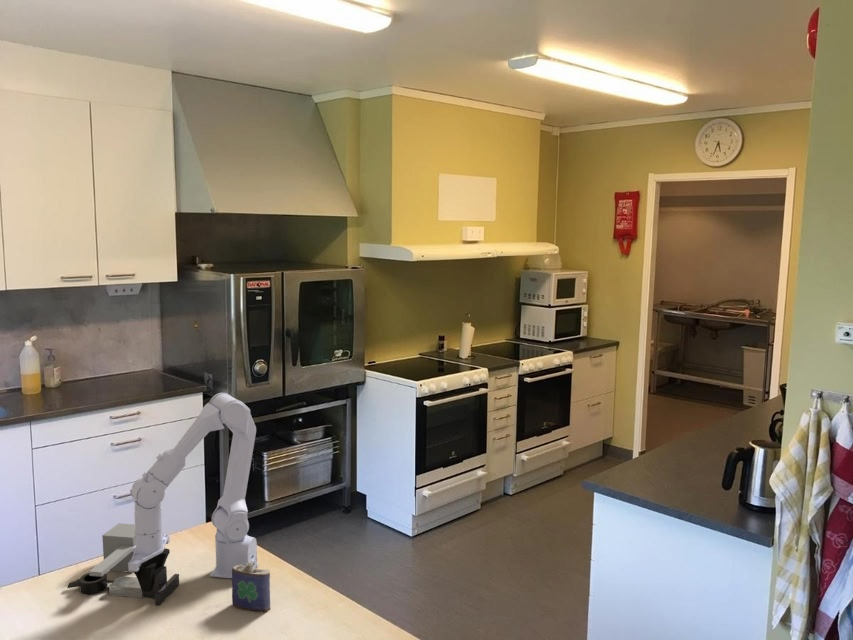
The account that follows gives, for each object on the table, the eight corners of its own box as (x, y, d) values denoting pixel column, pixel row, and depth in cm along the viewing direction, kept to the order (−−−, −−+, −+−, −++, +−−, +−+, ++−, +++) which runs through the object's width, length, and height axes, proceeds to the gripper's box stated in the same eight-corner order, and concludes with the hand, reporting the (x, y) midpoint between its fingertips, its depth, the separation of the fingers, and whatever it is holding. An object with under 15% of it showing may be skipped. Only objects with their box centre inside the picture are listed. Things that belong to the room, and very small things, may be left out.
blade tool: (179, 585, 163) (178, 561, 162) (159, 605, 154) (158, 580, 153) (126, 580, 164) (124, 557, 164) (103, 600, 156) (102, 575, 155)
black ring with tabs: (95, 601, 155) (95, 589, 155) (64, 592, 159) (63, 580, 159) (122, 585, 162) (122, 574, 162) (92, 576, 166) (91, 565, 166)
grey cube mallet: (149, 559, 175) (148, 525, 174) (102, 600, 156) (100, 563, 154) (120, 556, 176) (118, 523, 175) (70, 597, 157) (68, 560, 155)
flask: (272, 607, 154) (271, 562, 152) (266, 614, 151) (264, 568, 149) (236, 601, 156) (234, 556, 155) (228, 607, 153) (227, 562, 152)
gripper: (149, 515, 164) (151, 569, 166) (114, 542, 150) (117, 601, 152) (177, 517, 163) (179, 571, 165) (144, 545, 149) (147, 603, 151)
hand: (151, 585), depth 159 cm, fingers closed on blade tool, 3 cm apart
